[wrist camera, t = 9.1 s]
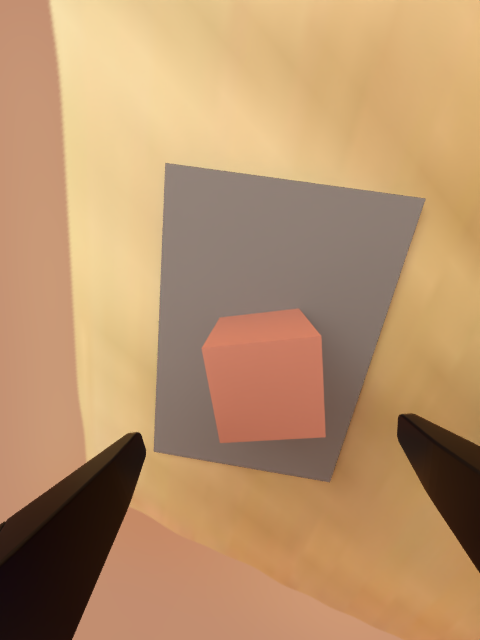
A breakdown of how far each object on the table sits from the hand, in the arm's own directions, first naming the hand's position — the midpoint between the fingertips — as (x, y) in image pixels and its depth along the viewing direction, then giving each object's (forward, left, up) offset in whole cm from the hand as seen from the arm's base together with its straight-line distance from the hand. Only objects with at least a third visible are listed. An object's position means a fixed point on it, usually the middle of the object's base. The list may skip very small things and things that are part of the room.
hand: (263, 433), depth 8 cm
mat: (0, 0, -8) cm, 8 cm away
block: (0, 0, -7) cm, 7 cm away
